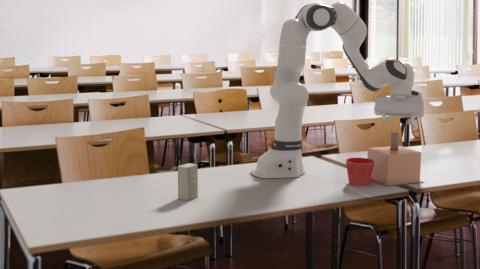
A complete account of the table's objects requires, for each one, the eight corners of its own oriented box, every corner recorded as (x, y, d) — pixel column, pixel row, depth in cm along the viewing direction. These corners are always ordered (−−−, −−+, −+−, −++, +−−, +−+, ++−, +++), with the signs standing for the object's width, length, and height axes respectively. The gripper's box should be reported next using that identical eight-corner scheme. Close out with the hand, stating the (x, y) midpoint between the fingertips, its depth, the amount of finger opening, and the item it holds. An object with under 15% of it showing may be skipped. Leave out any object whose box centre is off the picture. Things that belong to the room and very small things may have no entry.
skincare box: (189, 195, 248) (189, 162, 246) (198, 197, 246) (198, 164, 244) (177, 198, 244) (177, 165, 242) (186, 200, 241) (186, 167, 239)
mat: (385, 187, 261) (386, 186, 261) (361, 177, 278) (361, 176, 278) (425, 183, 268) (425, 182, 268) (398, 174, 284) (399, 173, 284)
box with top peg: (387, 185, 263) (389, 136, 260) (366, 177, 277) (368, 130, 274) (419, 182, 268) (422, 134, 265) (398, 174, 282) (400, 128, 279)
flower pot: (373, 188, 260) (374, 163, 258) (344, 186, 262) (345, 162, 261) (373, 182, 270) (374, 158, 269) (345, 180, 272) (346, 156, 271)
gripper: (375, 91, 285) (371, 117, 278) (425, 93, 279) (422, 119, 271) (376, 100, 290) (372, 126, 283) (425, 102, 284) (422, 129, 276)
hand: (397, 123), depth 277 cm, fingers open, 8 cm apart
